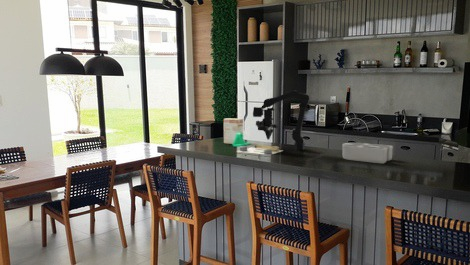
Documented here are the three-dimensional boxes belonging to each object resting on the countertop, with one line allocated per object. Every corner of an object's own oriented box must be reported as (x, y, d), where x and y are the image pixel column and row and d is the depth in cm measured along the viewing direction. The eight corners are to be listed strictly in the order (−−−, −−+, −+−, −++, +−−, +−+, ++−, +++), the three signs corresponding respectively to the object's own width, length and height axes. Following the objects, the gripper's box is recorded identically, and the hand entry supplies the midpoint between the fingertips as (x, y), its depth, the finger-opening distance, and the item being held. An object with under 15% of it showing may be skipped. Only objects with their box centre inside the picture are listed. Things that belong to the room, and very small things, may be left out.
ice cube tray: (383, 164, 234) (384, 149, 233) (337, 159, 251) (338, 145, 250) (392, 159, 247) (393, 145, 246) (348, 155, 264) (348, 142, 263)
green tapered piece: (240, 148, 294) (240, 134, 293) (232, 147, 299) (232, 133, 298) (251, 146, 303) (251, 132, 302) (243, 145, 308) (243, 132, 307)
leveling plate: (283, 152, 273) (283, 146, 272) (269, 157, 257) (269, 150, 257) (250, 149, 287) (250, 143, 287) (235, 153, 272) (235, 147, 271)
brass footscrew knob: (280, 150, 273) (280, 146, 273) (276, 151, 268) (276, 147, 268) (256, 148, 283) (256, 143, 283) (252, 149, 278) (252, 145, 278)
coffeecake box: (243, 143, 315) (243, 118, 312) (237, 145, 310) (237, 119, 307) (229, 142, 325) (229, 117, 323) (223, 143, 320) (223, 118, 317)
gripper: (264, 115, 291) (264, 137, 293) (251, 117, 276) (251, 140, 277) (278, 116, 285) (278, 138, 287) (265, 118, 269) (265, 141, 271)
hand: (268, 139), depth 281 cm, fingers closed
